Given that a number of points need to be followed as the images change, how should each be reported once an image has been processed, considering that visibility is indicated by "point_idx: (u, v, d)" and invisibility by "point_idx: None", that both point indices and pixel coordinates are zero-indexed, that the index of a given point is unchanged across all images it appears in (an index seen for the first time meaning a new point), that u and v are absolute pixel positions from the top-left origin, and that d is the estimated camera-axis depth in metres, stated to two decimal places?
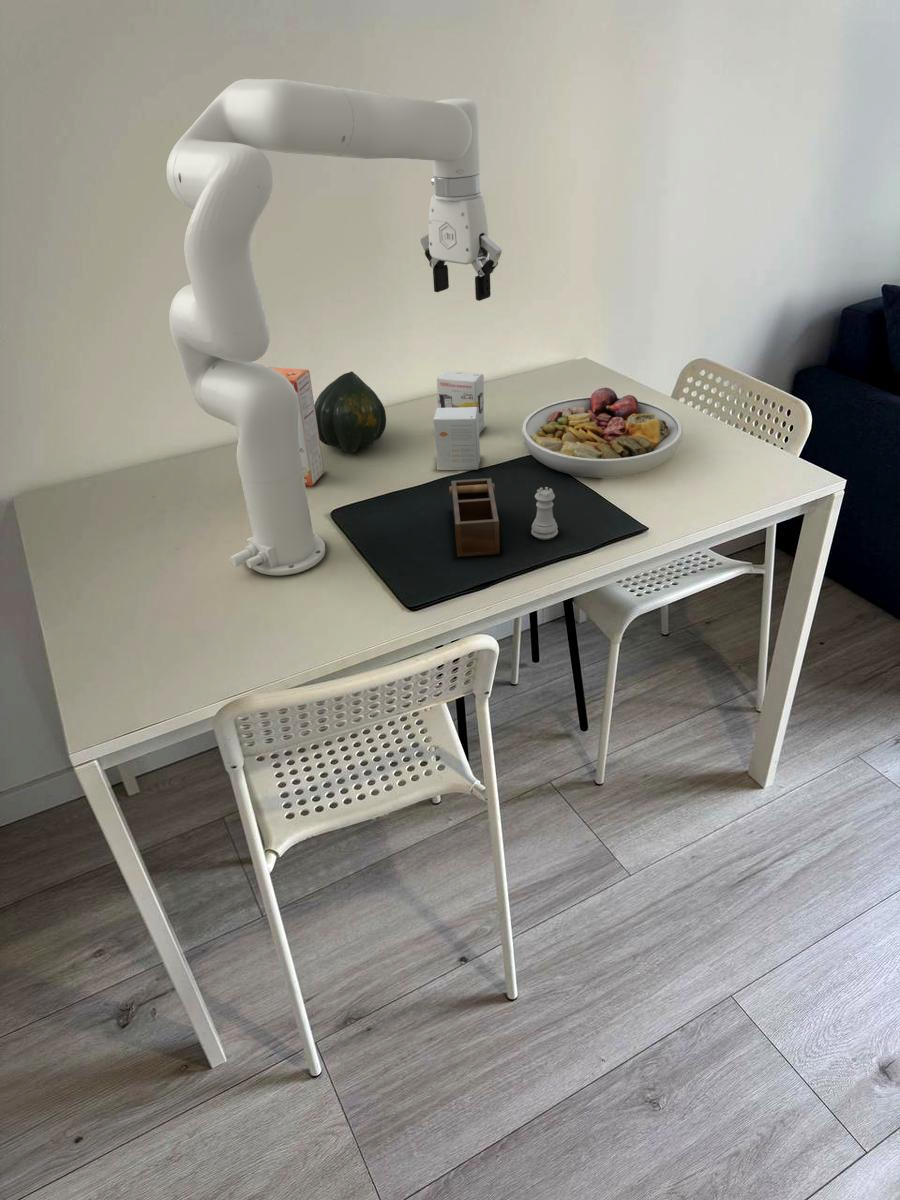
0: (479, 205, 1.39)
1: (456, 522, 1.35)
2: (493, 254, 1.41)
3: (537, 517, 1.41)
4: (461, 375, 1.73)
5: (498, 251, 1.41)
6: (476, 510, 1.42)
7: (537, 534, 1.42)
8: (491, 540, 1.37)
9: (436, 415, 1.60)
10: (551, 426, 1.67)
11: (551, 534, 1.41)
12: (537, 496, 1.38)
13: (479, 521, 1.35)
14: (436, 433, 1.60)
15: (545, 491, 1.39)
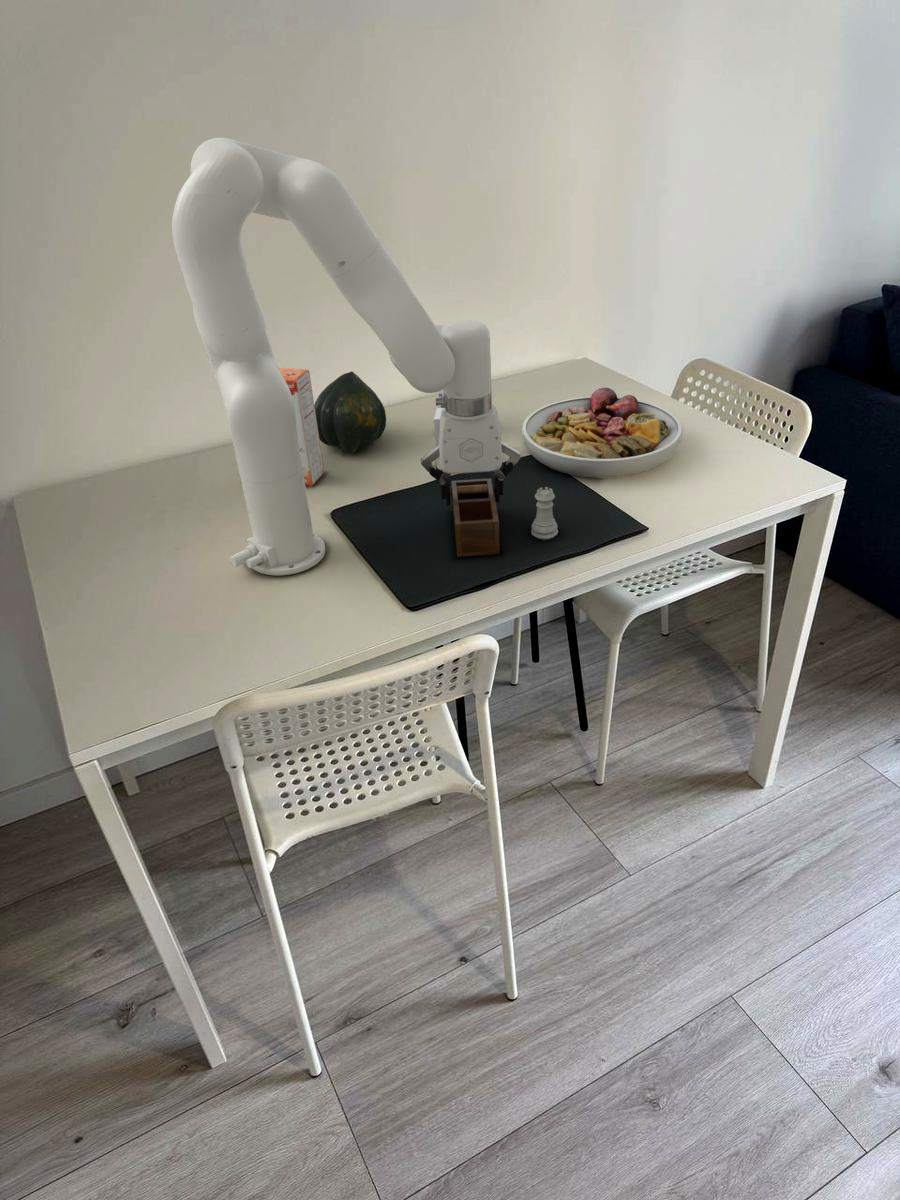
0: None
1: (456, 522, 1.35)
2: (516, 458, 1.43)
3: (537, 517, 1.41)
4: None
5: (520, 455, 1.43)
6: (476, 510, 1.42)
7: (537, 534, 1.42)
8: (491, 540, 1.37)
9: (436, 415, 1.60)
10: (551, 426, 1.67)
11: (551, 534, 1.41)
12: (537, 496, 1.38)
13: (479, 521, 1.35)
14: (436, 433, 1.60)
15: (545, 491, 1.39)
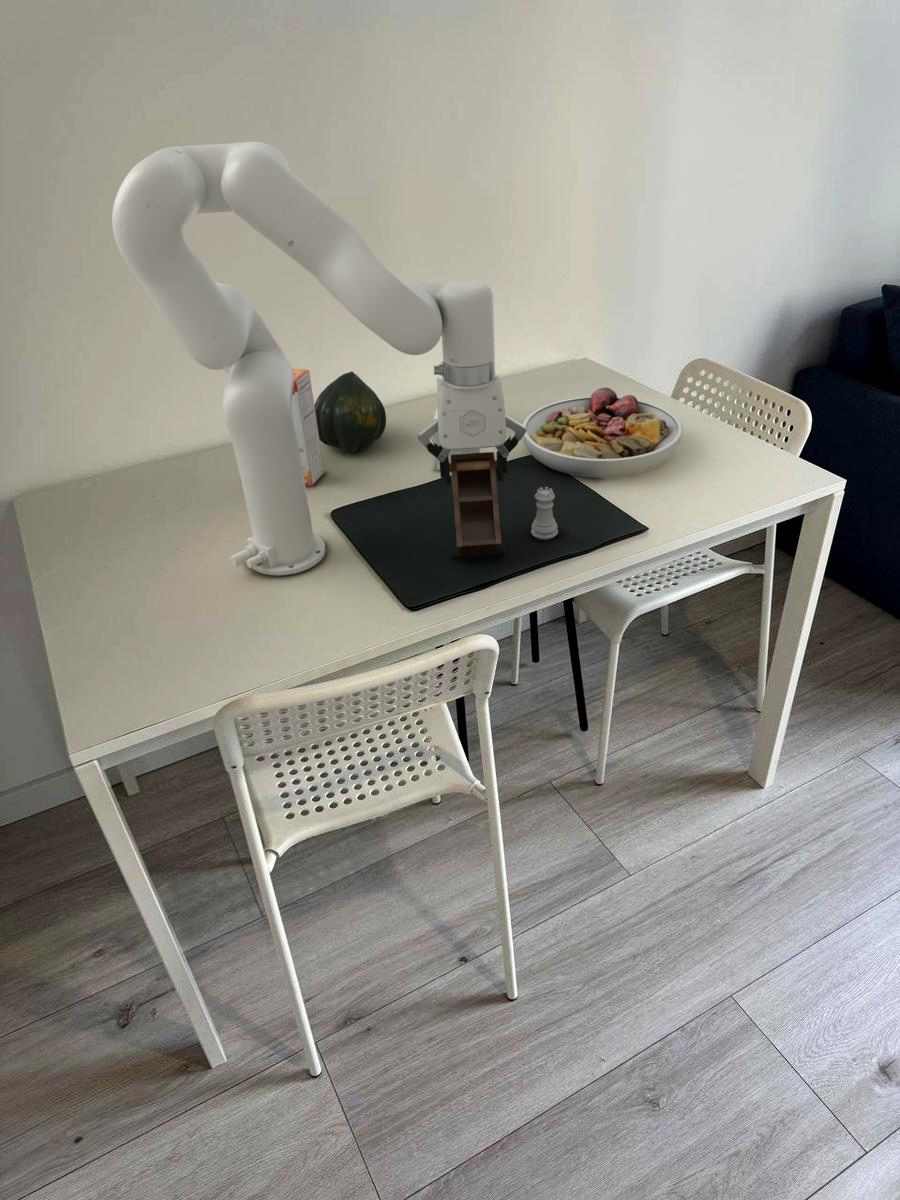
0: None
1: (458, 543, 1.32)
2: (521, 432, 1.32)
3: (537, 517, 1.41)
4: None
5: (525, 429, 1.32)
6: (477, 504, 1.36)
7: (537, 534, 1.42)
8: (492, 550, 1.36)
9: (436, 415, 1.60)
10: (551, 426, 1.67)
11: (551, 534, 1.41)
12: (537, 496, 1.38)
13: (481, 542, 1.32)
14: (436, 433, 1.60)
15: (545, 491, 1.39)
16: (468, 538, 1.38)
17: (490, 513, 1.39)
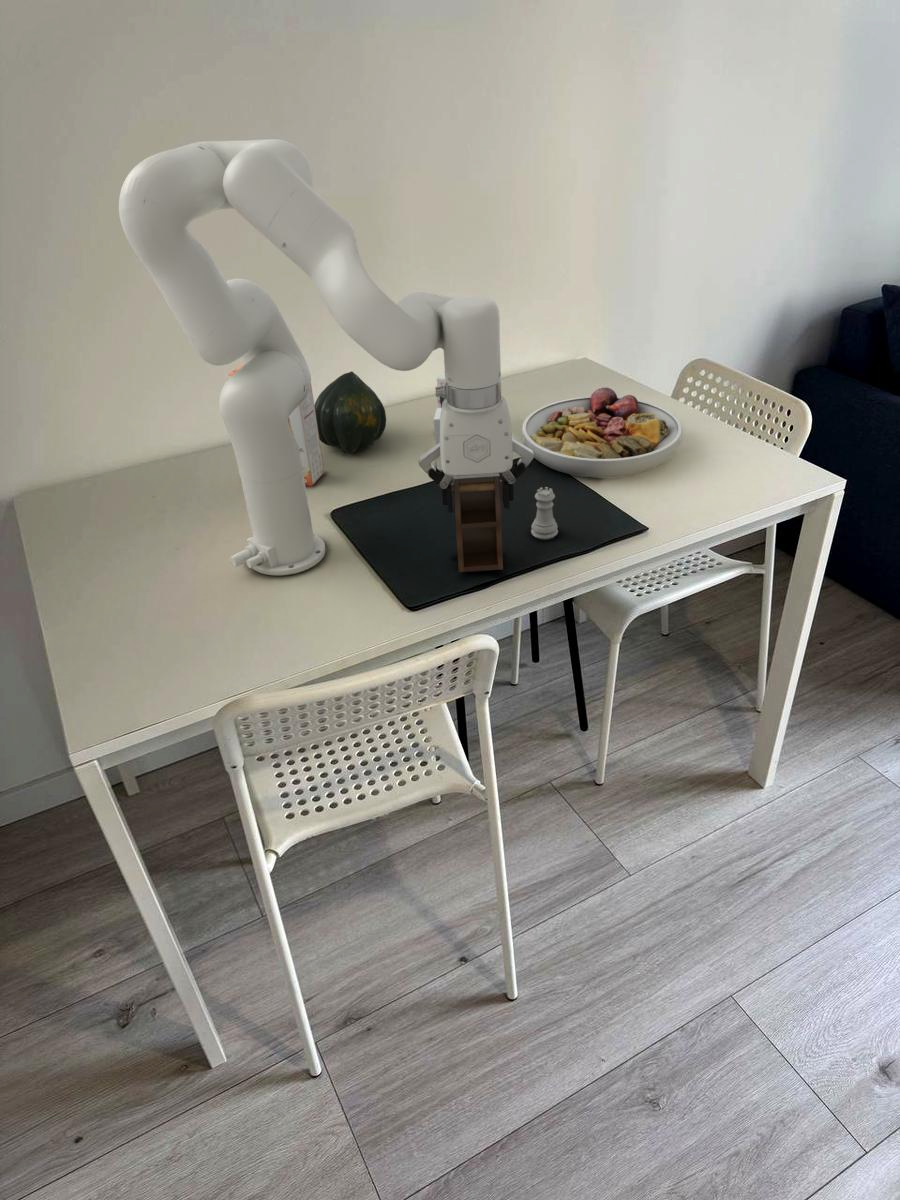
0: None
1: (460, 569, 1.33)
2: (528, 458, 1.23)
3: (537, 517, 1.41)
4: None
5: (533, 454, 1.24)
6: None
7: (537, 534, 1.42)
8: None
9: (436, 415, 1.60)
10: (551, 426, 1.67)
11: (551, 534, 1.41)
12: (537, 496, 1.38)
13: (483, 568, 1.33)
14: (436, 433, 1.60)
15: (545, 491, 1.39)
16: (469, 541, 1.36)
17: None
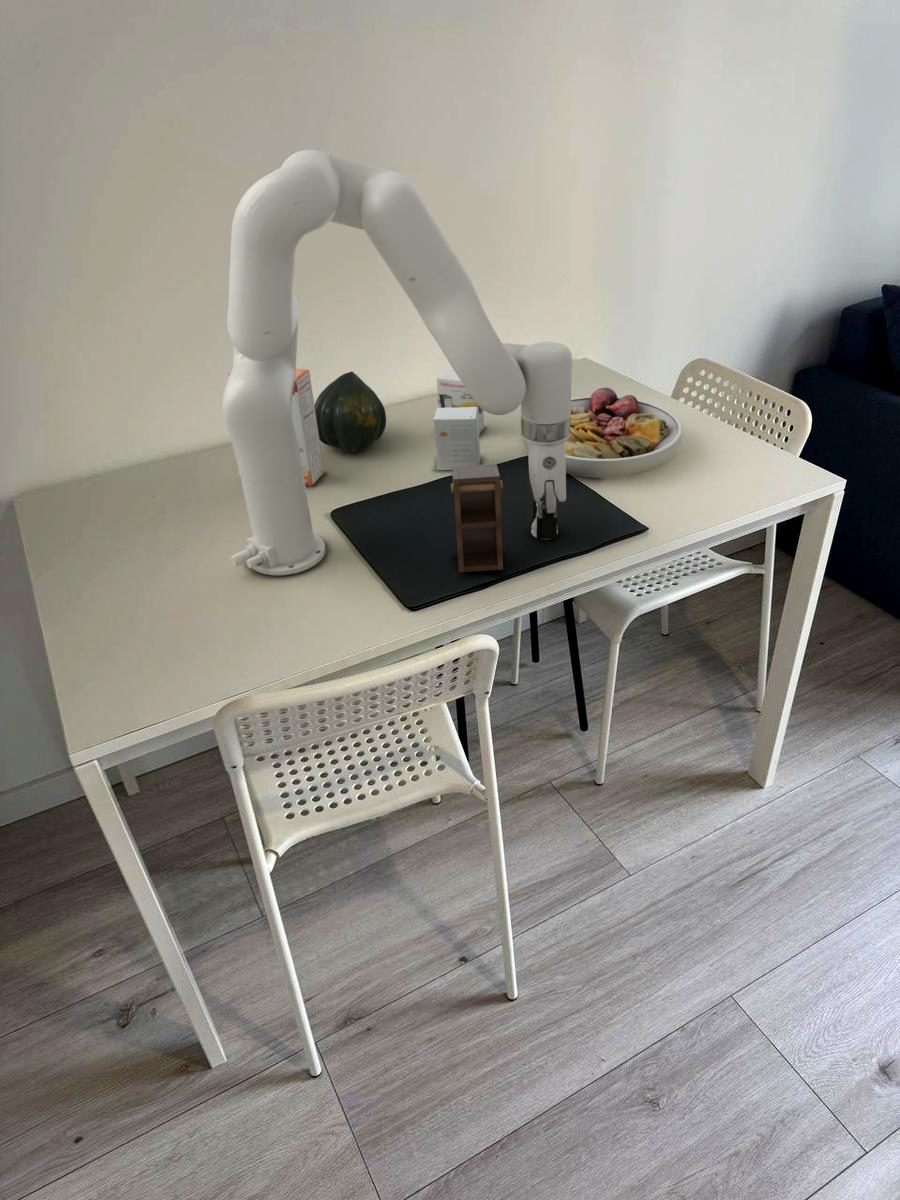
0: None
1: (460, 569, 1.33)
2: None
3: None
4: None
5: None
6: None
7: None
8: None
9: (436, 415, 1.60)
10: None
11: None
12: None
13: (483, 568, 1.33)
14: (436, 433, 1.60)
15: None
16: (469, 541, 1.36)
17: None
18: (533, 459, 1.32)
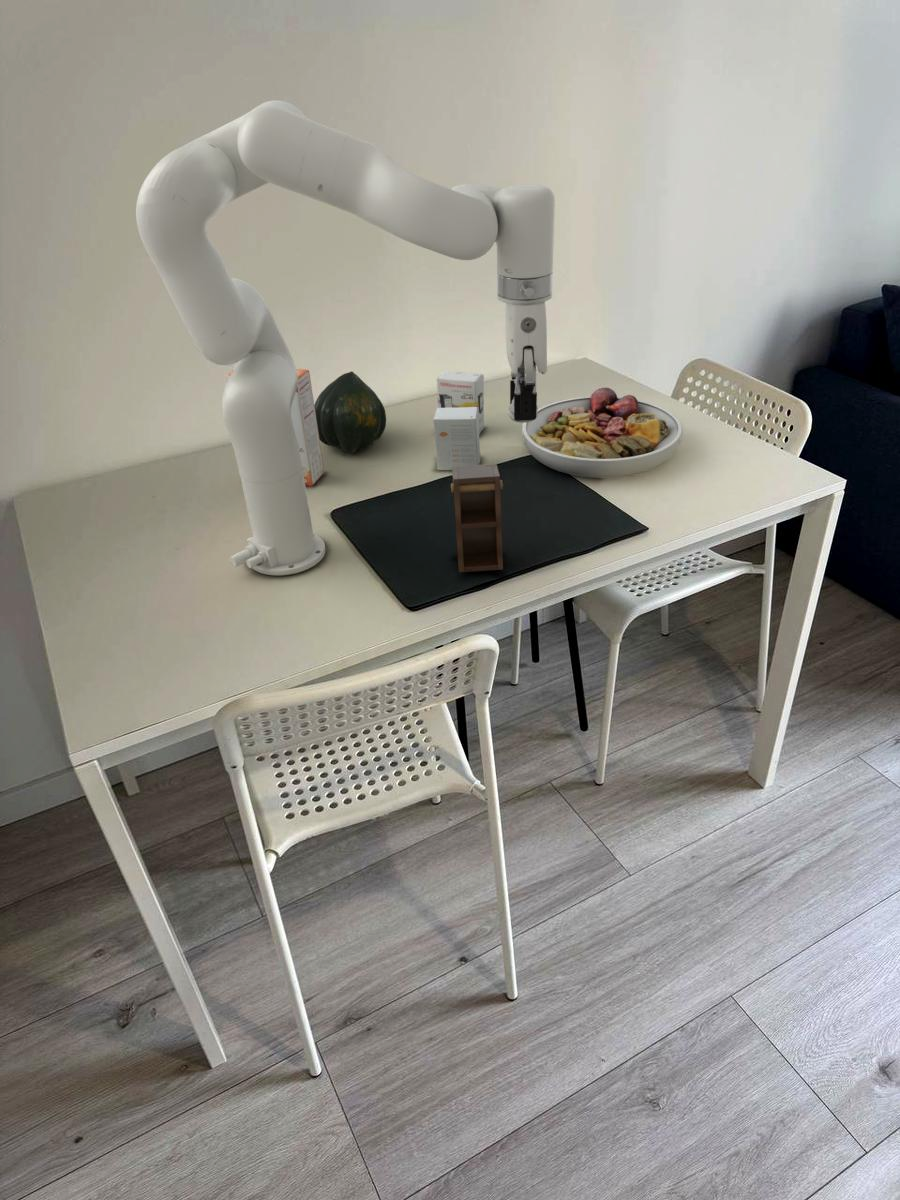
0: None
1: (460, 569, 1.33)
2: None
3: None
4: (461, 375, 1.73)
5: None
6: None
7: None
8: None
9: (436, 415, 1.60)
10: (551, 426, 1.67)
11: None
12: None
13: (483, 568, 1.33)
14: (436, 433, 1.60)
15: None
16: (469, 541, 1.36)
17: None
18: (510, 322, 1.17)
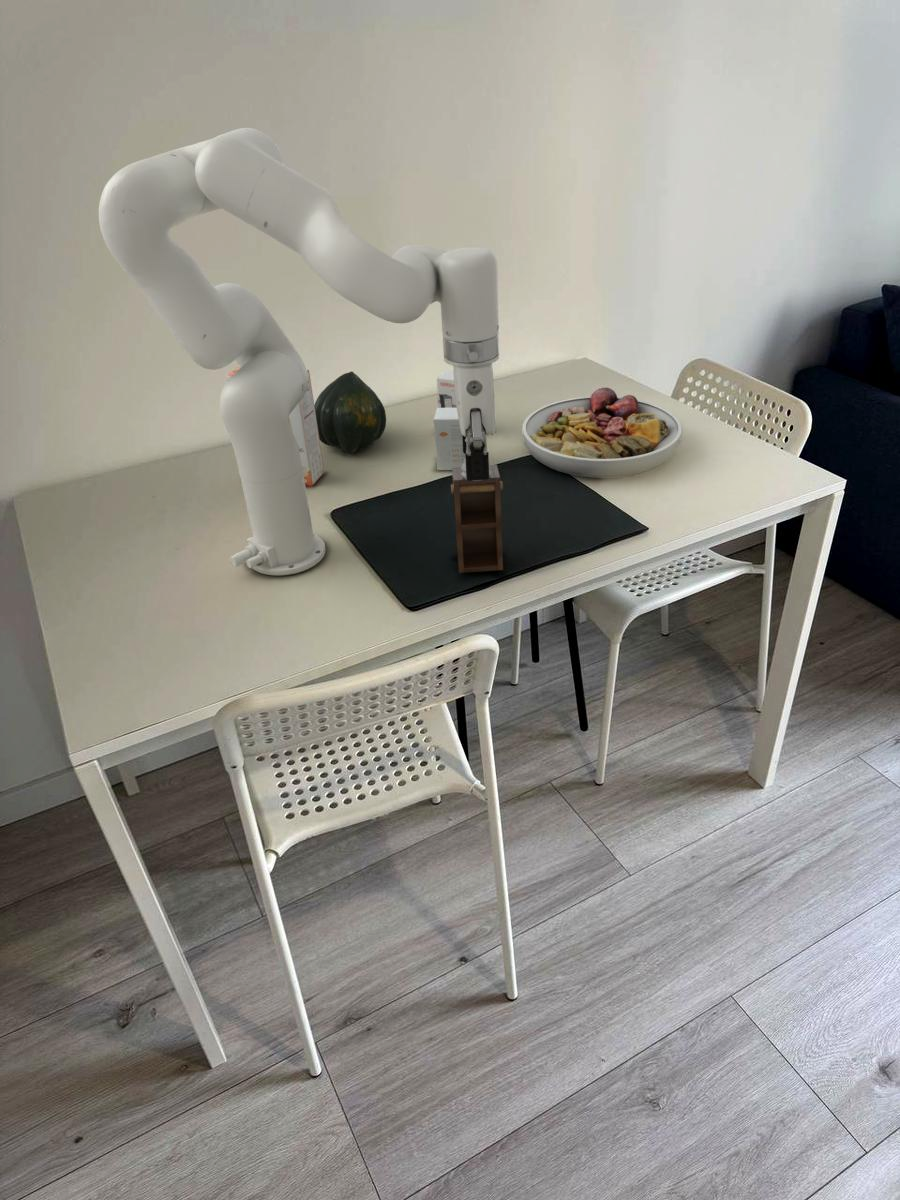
0: None
1: (460, 569, 1.33)
2: None
3: None
4: None
5: None
6: None
7: None
8: None
9: (436, 415, 1.60)
10: (551, 426, 1.67)
11: None
12: None
13: (483, 569, 1.33)
14: (436, 433, 1.60)
15: None
16: (469, 541, 1.36)
17: None
18: (457, 384, 1.16)
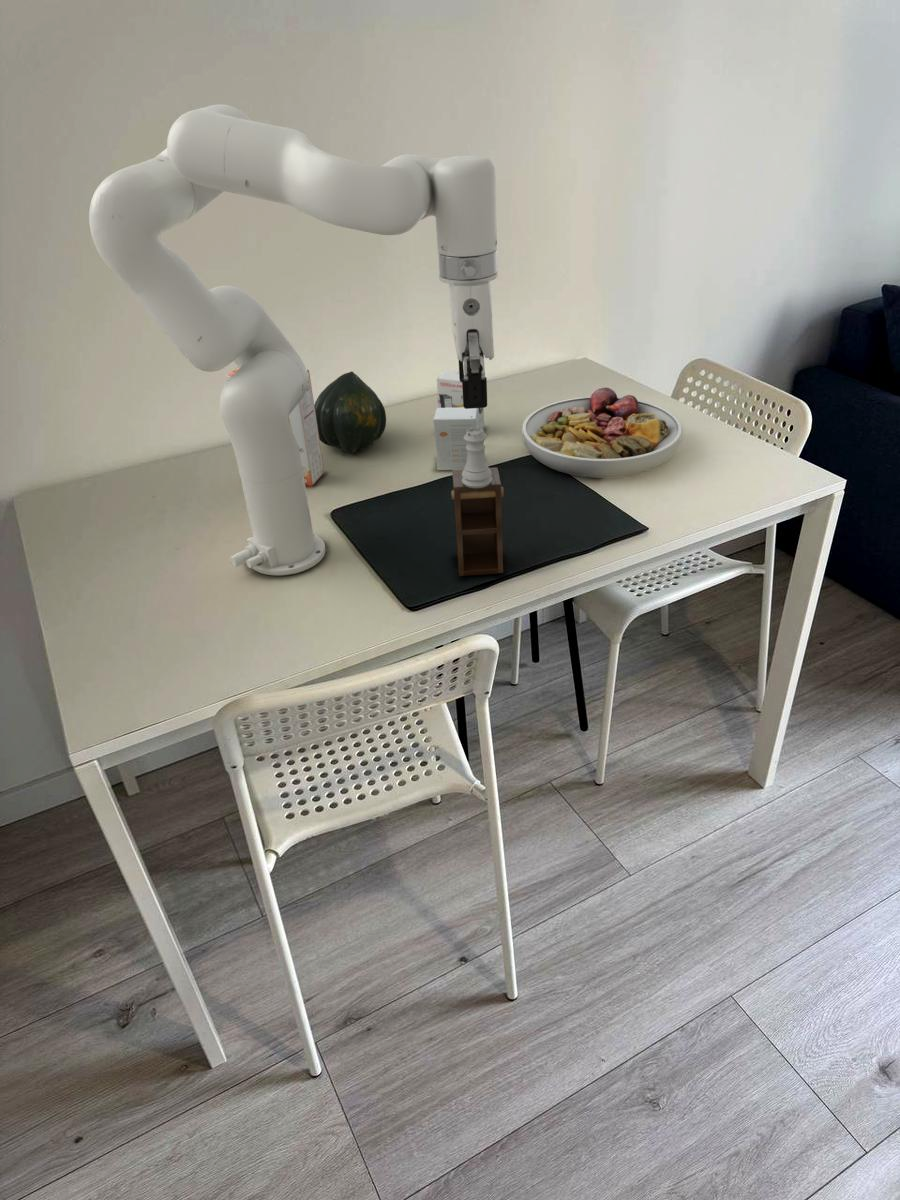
0: None
1: (460, 573, 1.33)
2: None
3: (467, 462, 1.24)
4: None
5: None
6: None
7: (468, 482, 1.24)
8: None
9: (436, 415, 1.60)
10: (551, 426, 1.67)
11: (483, 482, 1.24)
12: (466, 437, 1.22)
13: (483, 572, 1.33)
14: (436, 433, 1.60)
15: (475, 431, 1.22)
16: (469, 542, 1.36)
17: None
18: (453, 304, 1.10)
